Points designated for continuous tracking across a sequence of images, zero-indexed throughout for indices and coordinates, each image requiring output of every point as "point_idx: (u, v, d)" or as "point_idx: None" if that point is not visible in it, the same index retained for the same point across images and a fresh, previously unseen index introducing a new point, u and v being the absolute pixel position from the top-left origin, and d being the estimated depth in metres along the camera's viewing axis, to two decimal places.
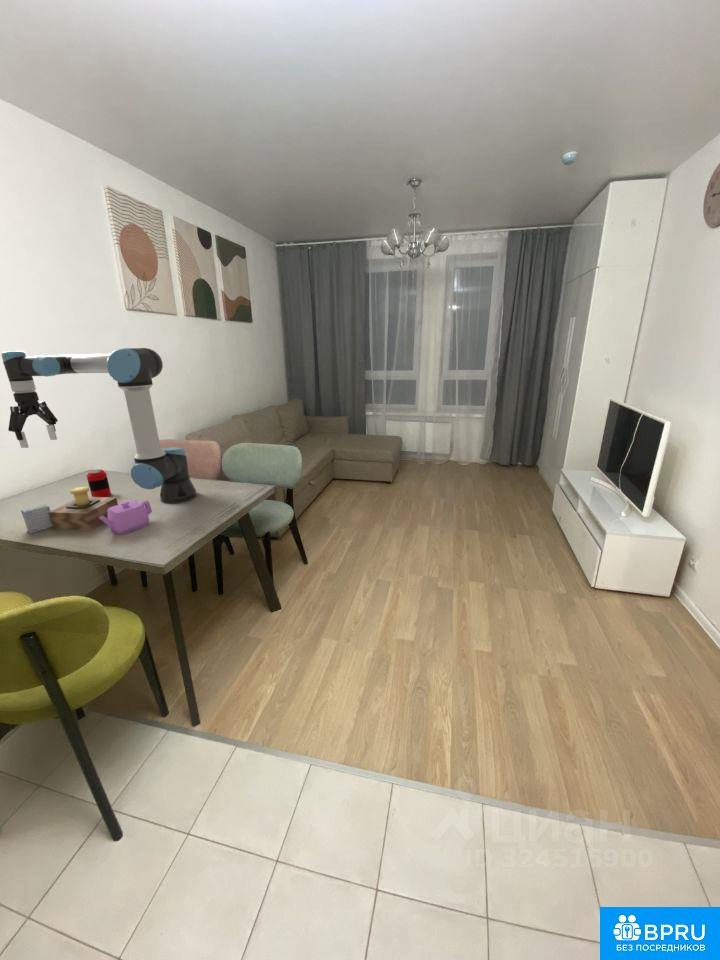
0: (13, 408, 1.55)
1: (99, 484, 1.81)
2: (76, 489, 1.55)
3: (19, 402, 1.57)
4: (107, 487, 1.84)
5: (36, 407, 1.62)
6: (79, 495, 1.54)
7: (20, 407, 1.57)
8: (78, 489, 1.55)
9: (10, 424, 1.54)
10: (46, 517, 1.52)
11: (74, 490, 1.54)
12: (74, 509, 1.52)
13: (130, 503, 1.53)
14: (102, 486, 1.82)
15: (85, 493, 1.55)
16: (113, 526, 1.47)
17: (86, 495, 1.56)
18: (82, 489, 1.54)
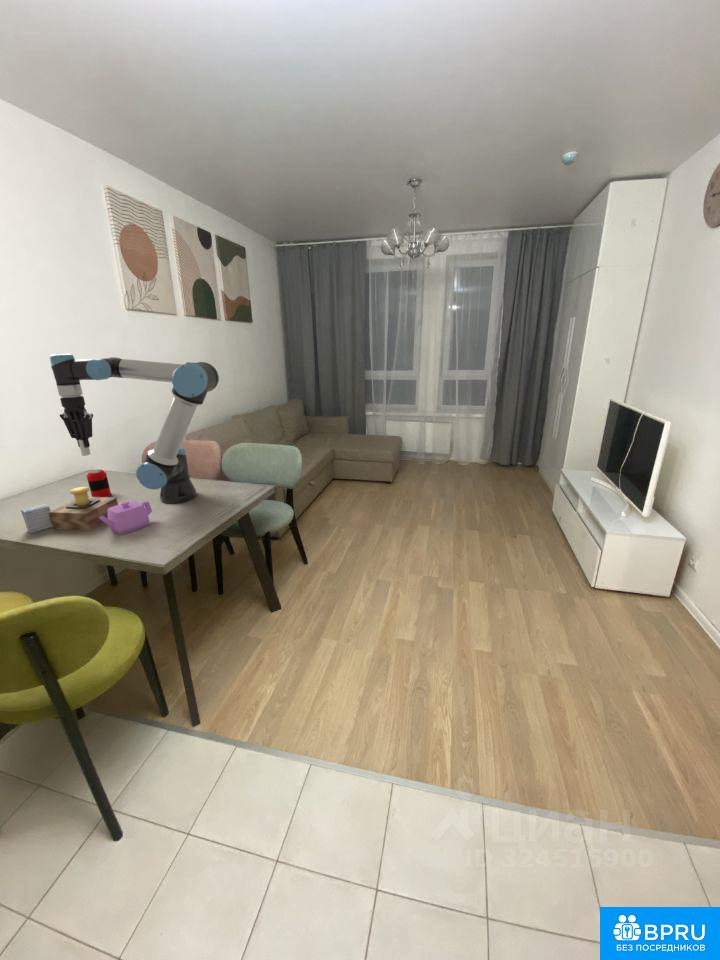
0: None
1: (99, 484, 1.81)
2: (76, 489, 1.55)
3: None
4: (107, 487, 1.84)
5: (74, 413, 1.54)
6: (79, 495, 1.54)
7: (64, 410, 1.56)
8: (78, 489, 1.55)
9: None
10: (46, 517, 1.52)
11: (74, 490, 1.54)
12: (74, 509, 1.52)
13: (130, 503, 1.53)
14: (102, 486, 1.82)
15: (85, 493, 1.55)
16: (113, 526, 1.47)
17: (86, 495, 1.56)
18: (82, 489, 1.54)
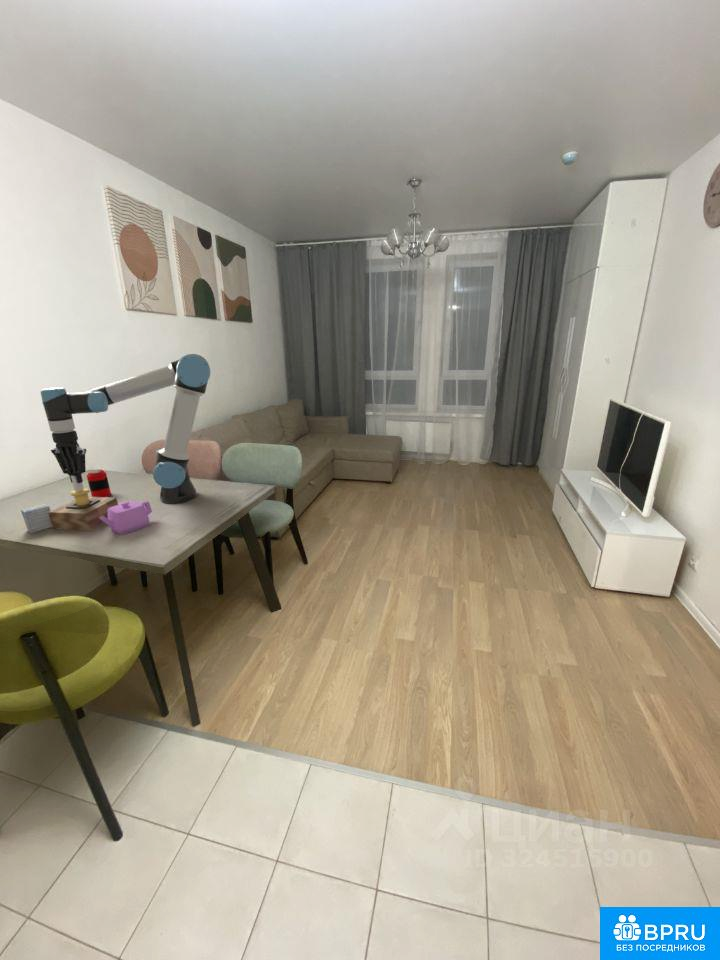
0: None
1: (99, 484, 1.81)
2: None
3: None
4: (107, 487, 1.84)
5: (66, 449, 1.47)
6: (80, 497, 1.54)
7: None
8: None
9: None
10: (46, 517, 1.52)
11: (74, 492, 1.54)
12: (74, 509, 1.52)
13: (130, 503, 1.53)
14: (102, 486, 1.82)
15: (85, 495, 1.55)
16: (113, 526, 1.47)
17: (86, 497, 1.56)
18: (82, 491, 1.55)
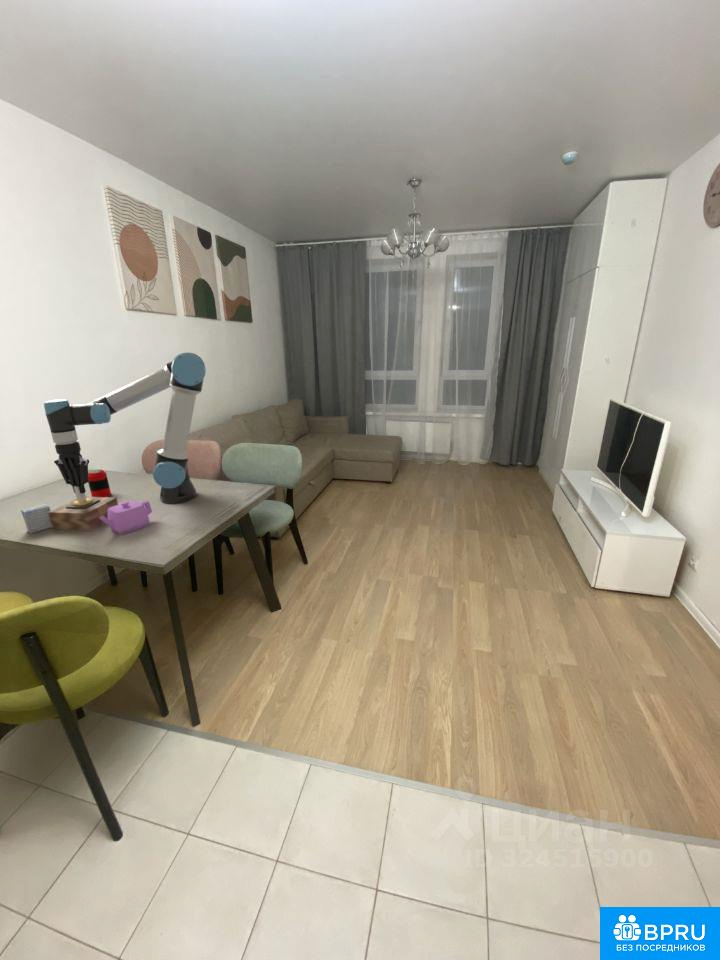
0: None
1: (99, 484, 1.81)
2: None
3: None
4: (107, 487, 1.84)
5: (69, 460, 1.49)
6: None
7: (59, 456, 1.50)
8: None
9: None
10: (46, 517, 1.52)
11: (77, 502, 1.55)
12: (74, 509, 1.52)
13: (130, 503, 1.53)
14: (102, 486, 1.82)
15: None
16: (113, 526, 1.47)
17: None
18: (85, 501, 1.56)
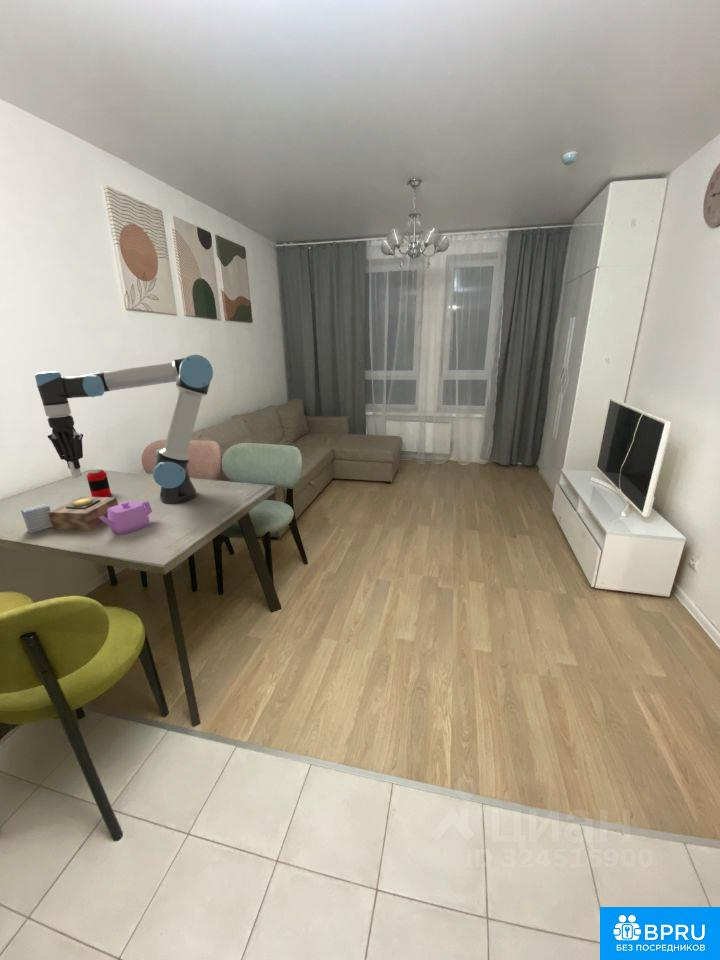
0: None
1: (99, 484, 1.81)
2: (79, 501, 1.57)
3: None
4: (107, 487, 1.84)
5: (63, 434, 1.46)
6: None
7: (52, 431, 1.47)
8: (81, 501, 1.56)
9: None
10: (46, 517, 1.52)
11: (77, 502, 1.55)
12: (74, 509, 1.52)
13: (130, 503, 1.53)
14: (102, 486, 1.82)
15: None
16: (113, 526, 1.47)
17: None
18: (85, 501, 1.56)
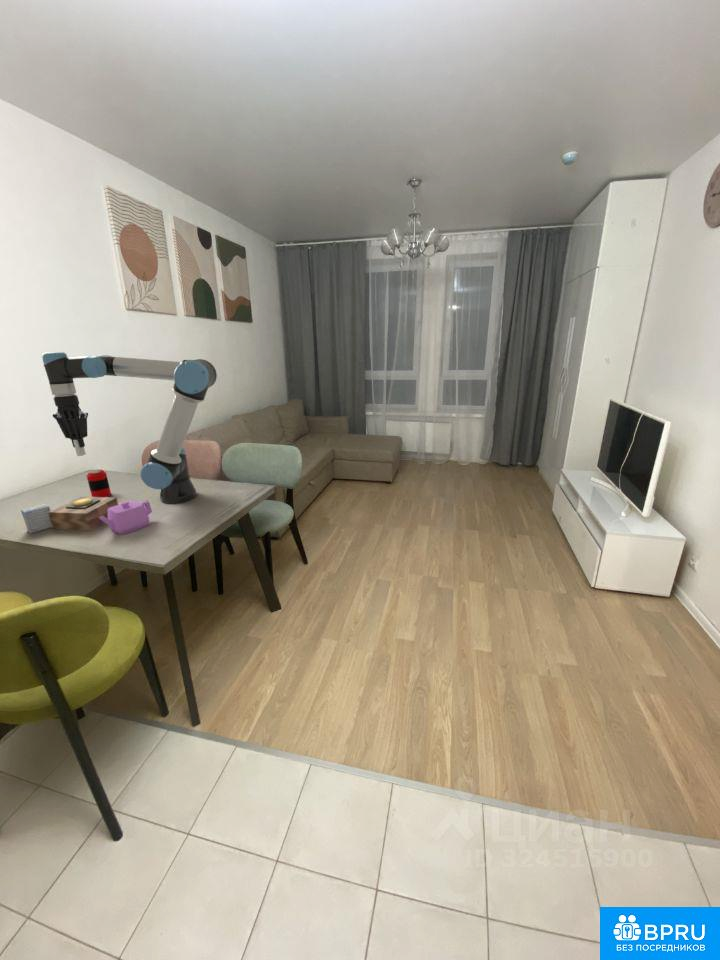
0: None
1: (99, 484, 1.81)
2: (79, 501, 1.57)
3: None
4: (107, 487, 1.84)
5: (68, 412, 1.51)
6: None
7: None
8: (81, 501, 1.56)
9: None
10: (46, 517, 1.52)
11: (77, 502, 1.55)
12: (74, 509, 1.52)
13: (130, 503, 1.53)
14: (102, 486, 1.82)
15: None
16: (113, 526, 1.47)
17: None
18: (85, 501, 1.56)
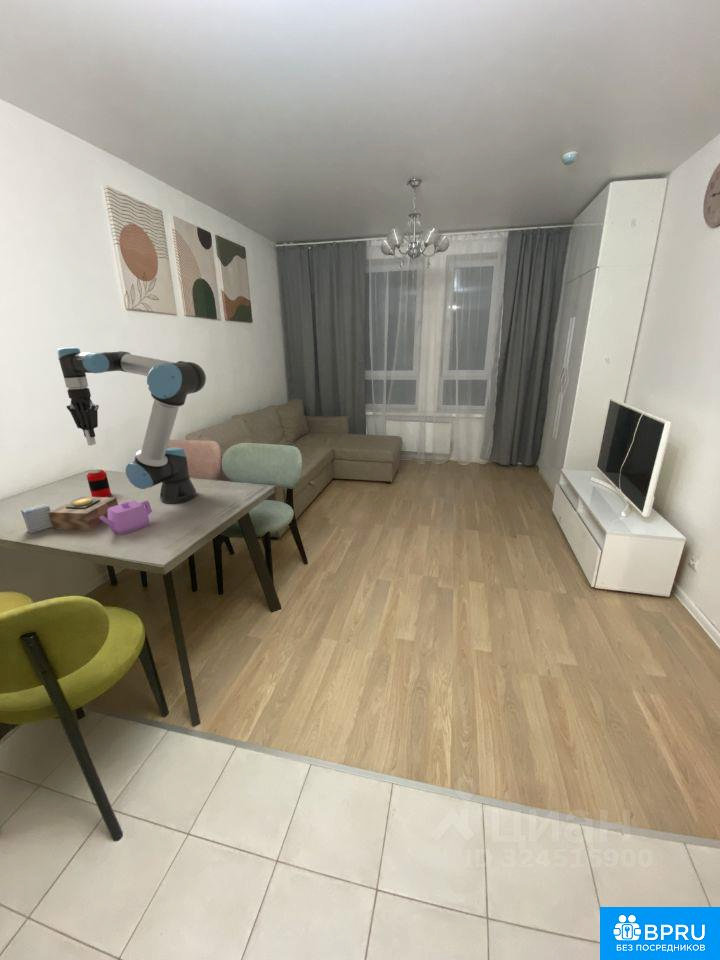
0: None
1: (99, 484, 1.81)
2: (79, 501, 1.57)
3: None
4: (107, 487, 1.84)
5: (80, 404, 1.62)
6: None
7: None
8: (81, 501, 1.56)
9: None
10: (46, 517, 1.52)
11: (77, 502, 1.55)
12: (74, 509, 1.52)
13: (130, 503, 1.53)
14: (102, 486, 1.82)
15: None
16: (113, 526, 1.47)
17: None
18: (85, 501, 1.56)
